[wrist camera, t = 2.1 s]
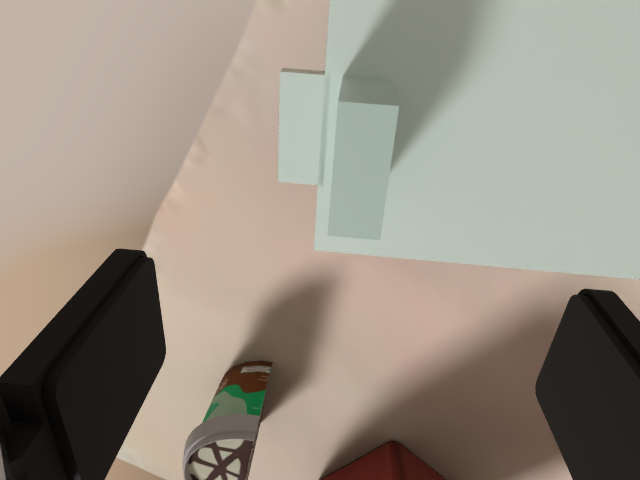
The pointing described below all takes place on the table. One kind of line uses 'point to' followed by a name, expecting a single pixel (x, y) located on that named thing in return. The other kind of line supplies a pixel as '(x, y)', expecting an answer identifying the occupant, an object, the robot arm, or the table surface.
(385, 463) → the plant pot
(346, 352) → the table surface
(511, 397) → the table surface
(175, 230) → the table surface
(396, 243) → the lid
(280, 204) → the table surface
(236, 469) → the food container
